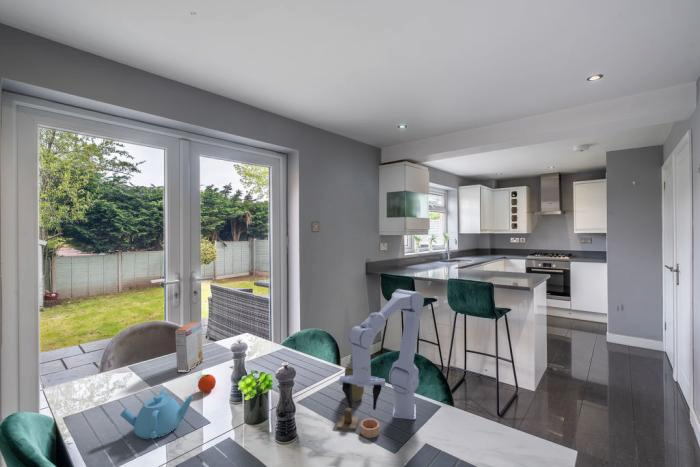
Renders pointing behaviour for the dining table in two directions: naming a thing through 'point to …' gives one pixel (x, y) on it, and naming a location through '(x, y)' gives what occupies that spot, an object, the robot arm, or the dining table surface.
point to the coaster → (347, 430)
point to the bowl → (370, 428)
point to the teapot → (157, 416)
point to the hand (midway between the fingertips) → (362, 407)
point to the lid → (348, 421)
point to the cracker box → (189, 345)
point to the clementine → (206, 383)
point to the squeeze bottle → (356, 390)
